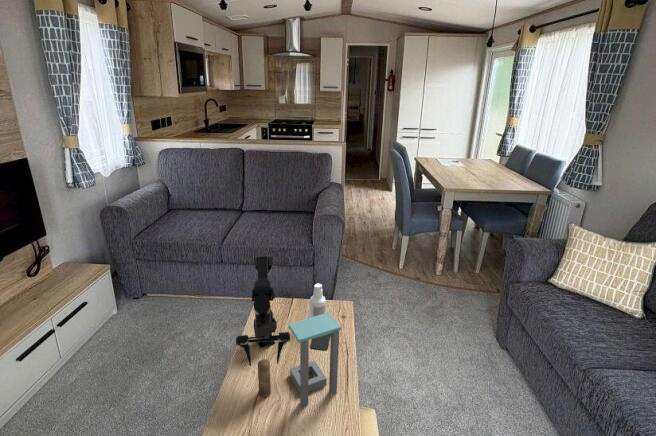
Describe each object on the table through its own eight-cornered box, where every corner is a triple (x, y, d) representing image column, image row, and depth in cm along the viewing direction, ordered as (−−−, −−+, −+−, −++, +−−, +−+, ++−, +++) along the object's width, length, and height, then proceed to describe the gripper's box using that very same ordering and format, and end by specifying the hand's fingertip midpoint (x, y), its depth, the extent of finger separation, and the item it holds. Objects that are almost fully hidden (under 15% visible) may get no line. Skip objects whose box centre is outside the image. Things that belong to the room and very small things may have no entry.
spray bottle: (319, 326, 168) (320, 291, 161) (307, 321, 171) (307, 286, 165) (327, 318, 173) (328, 284, 167) (315, 313, 177) (315, 279, 170)
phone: (309, 347, 154) (316, 325, 168) (309, 349, 154) (316, 326, 168) (327, 350, 153) (332, 326, 167) (327, 351, 153) (332, 328, 167)
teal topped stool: (289, 387, 135) (288, 323, 125) (326, 374, 141) (328, 312, 132) (300, 407, 127) (299, 340, 117) (339, 392, 133) (342, 327, 124)
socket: (290, 375, 140) (289, 368, 139) (314, 366, 145) (314, 360, 144) (300, 394, 132) (300, 387, 131) (326, 384, 136) (326, 378, 135)
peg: (257, 391, 133) (256, 361, 128) (268, 387, 135) (267, 357, 130) (261, 399, 130) (259, 369, 125) (272, 395, 131) (271, 365, 127)
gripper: (234, 316, 129) (234, 365, 123) (289, 312, 132) (291, 360, 125) (237, 322, 139) (237, 367, 133) (288, 318, 142) (290, 363, 135)
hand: (264, 364), depth 131 cm, fingers open, 9 cm apart
